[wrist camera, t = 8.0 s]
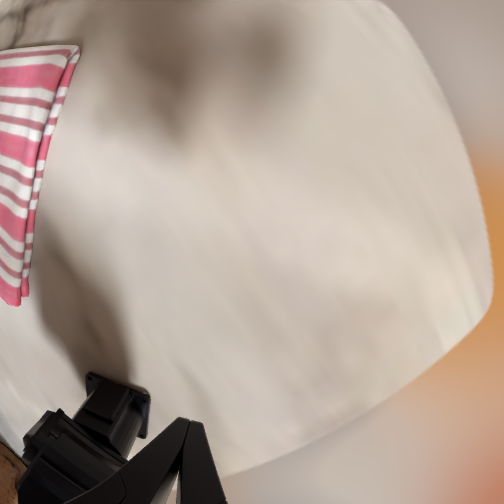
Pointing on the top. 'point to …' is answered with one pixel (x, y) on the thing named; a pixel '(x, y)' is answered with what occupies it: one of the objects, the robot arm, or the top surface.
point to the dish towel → (26, 149)
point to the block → (9, 475)
